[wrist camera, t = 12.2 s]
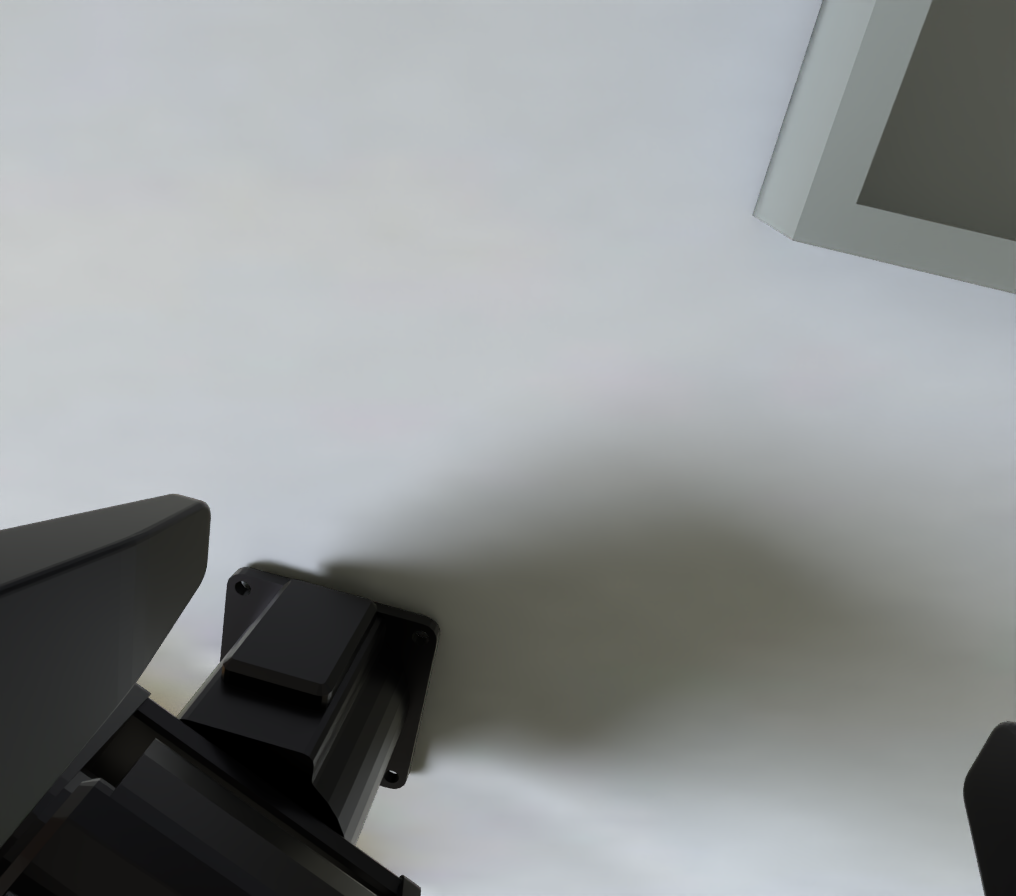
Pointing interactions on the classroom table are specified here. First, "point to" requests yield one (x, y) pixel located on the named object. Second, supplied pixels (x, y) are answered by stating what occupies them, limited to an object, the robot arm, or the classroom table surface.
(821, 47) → the bin
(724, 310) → the classroom table surface
